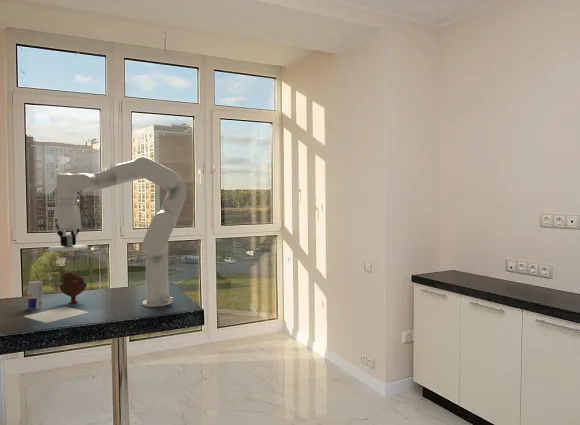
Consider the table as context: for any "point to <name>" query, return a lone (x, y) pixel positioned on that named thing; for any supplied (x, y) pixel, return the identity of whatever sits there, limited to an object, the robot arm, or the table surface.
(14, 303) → the table surface
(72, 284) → the ice cream bowl
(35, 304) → the energy drink
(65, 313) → the mat
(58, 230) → the robot arm
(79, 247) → the lid
